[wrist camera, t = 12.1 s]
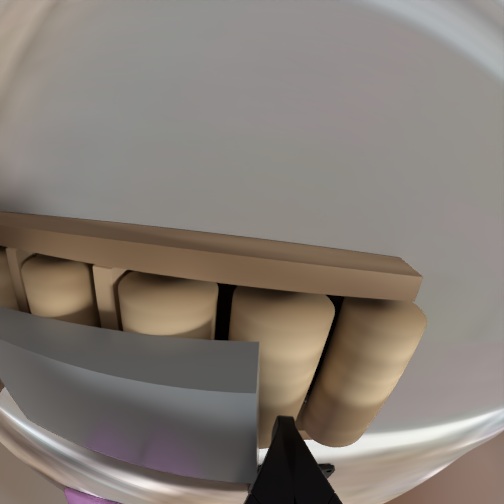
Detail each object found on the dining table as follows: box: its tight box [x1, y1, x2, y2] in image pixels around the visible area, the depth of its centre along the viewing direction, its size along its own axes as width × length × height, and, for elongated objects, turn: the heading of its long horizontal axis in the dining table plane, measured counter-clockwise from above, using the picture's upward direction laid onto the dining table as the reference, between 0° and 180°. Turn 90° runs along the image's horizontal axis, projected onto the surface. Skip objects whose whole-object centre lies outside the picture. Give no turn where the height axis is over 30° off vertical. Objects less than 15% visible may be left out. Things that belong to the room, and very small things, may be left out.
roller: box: [21, 254, 102, 328], centre depth 10 cm, size 7×4×4 cm, turn 173°
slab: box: [0, 306, 260, 484], centre depth 8 cm, size 6×12×2 cm, turn 91°
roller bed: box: [0, 212, 427, 449], centre depth 10 cm, size 10×22×4 cm, turn 83°
